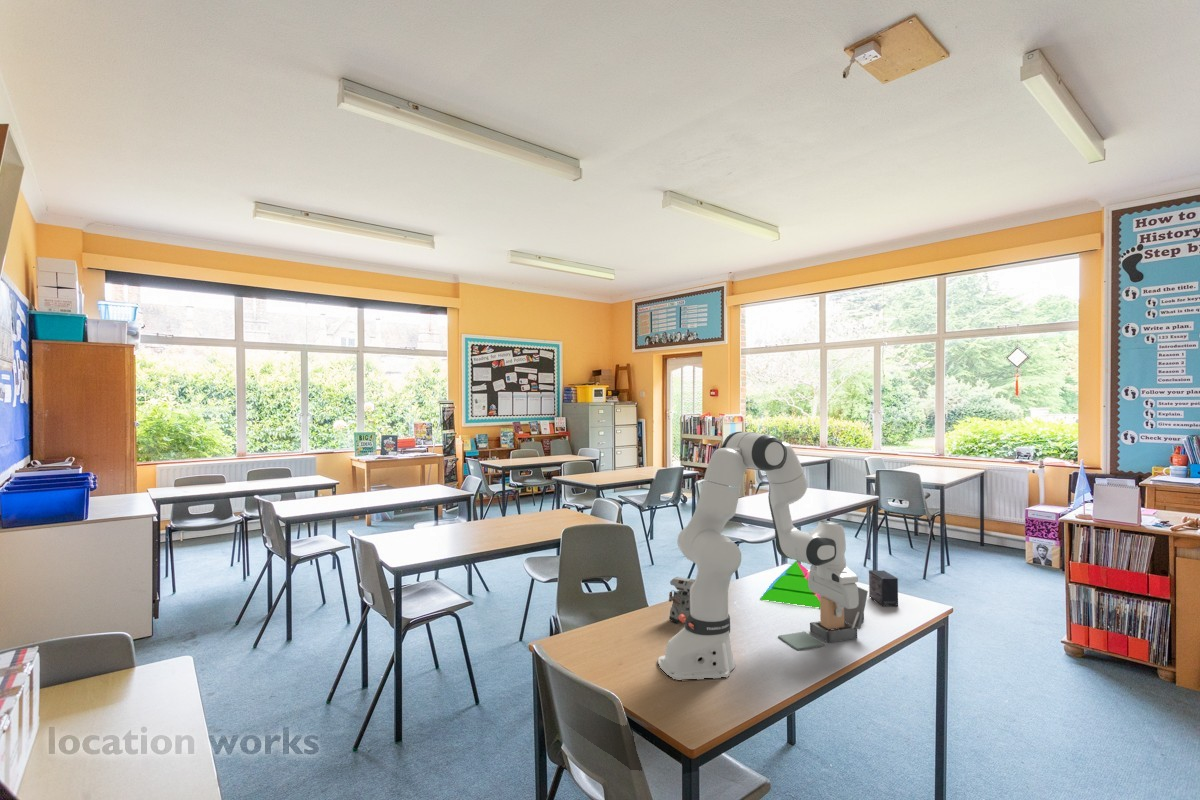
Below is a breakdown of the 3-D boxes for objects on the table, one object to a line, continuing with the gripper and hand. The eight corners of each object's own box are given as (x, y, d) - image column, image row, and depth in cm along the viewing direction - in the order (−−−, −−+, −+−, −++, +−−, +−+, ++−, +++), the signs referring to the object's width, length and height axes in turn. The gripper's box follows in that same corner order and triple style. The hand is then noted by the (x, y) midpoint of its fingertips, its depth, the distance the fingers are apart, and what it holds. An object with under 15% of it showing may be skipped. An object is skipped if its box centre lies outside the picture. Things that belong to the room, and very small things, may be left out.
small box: (899, 606, 204) (899, 578, 204) (882, 606, 204) (881, 578, 204) (885, 596, 214) (884, 569, 215) (868, 597, 215) (867, 569, 215)
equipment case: (829, 643, 174) (828, 595, 174) (809, 631, 184) (808, 585, 184) (869, 636, 178) (867, 590, 178) (847, 625, 188) (846, 580, 188)
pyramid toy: (771, 583, 235) (770, 549, 236) (834, 591, 223) (834, 556, 223) (757, 601, 214) (756, 564, 214) (826, 612, 201) (825, 573, 201)
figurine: (688, 629, 187) (687, 585, 187) (666, 619, 197) (665, 576, 197) (708, 623, 192) (707, 580, 192) (685, 613, 202) (685, 572, 202)
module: (828, 629, 178) (828, 601, 178) (820, 624, 182) (820, 597, 182) (844, 626, 179) (843, 599, 179) (835, 622, 183) (835, 595, 183)
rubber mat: (797, 650, 170) (797, 648, 170) (778, 637, 179) (778, 635, 179) (824, 645, 172) (824, 643, 172) (804, 633, 182) (804, 631, 182)
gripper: (803, 562, 190) (803, 603, 190) (844, 580, 170) (845, 625, 170) (818, 561, 192) (819, 601, 191) (861, 578, 172) (862, 623, 172)
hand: (832, 613), depth 180 cm, fingers closed on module, 4 cm apart
